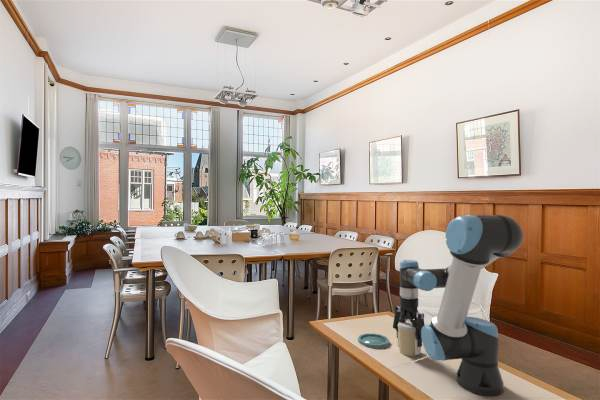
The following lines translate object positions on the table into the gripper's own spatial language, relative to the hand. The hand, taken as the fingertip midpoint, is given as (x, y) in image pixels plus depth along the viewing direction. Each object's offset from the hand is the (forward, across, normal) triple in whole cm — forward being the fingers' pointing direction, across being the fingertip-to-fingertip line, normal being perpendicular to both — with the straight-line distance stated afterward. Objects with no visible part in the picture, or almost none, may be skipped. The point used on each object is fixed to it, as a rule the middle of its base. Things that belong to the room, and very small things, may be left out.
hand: (408, 350), depth 154 cm
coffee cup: (+1, 0, 0) cm, 1 cm away
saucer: (+1, +16, +5) cm, 17 cm away
